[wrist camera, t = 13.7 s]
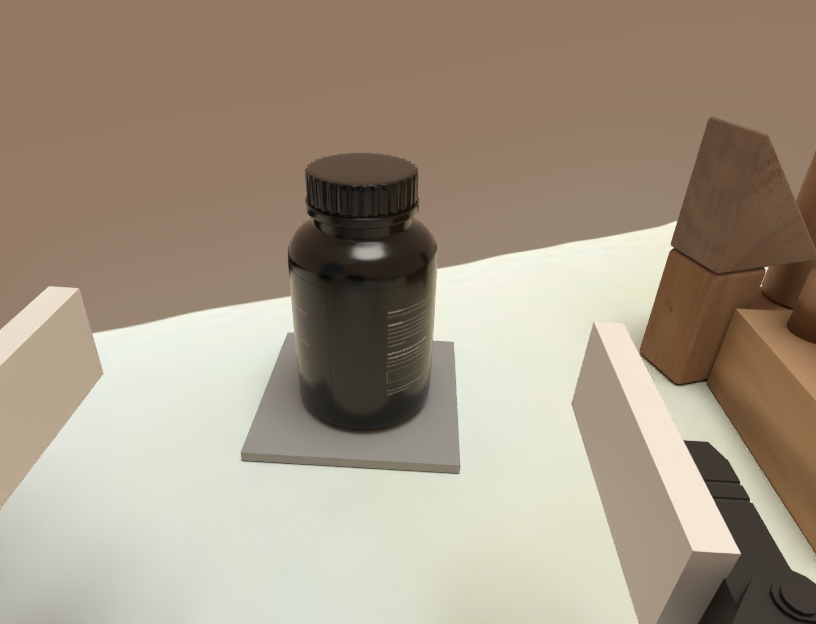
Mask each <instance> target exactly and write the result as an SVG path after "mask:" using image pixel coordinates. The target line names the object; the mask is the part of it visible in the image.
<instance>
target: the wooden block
mask: <svg viewBox="0 0 816 624" xmlns="http://www.w3.org/2000/svg"><path fill="white" fill-rule="evenodd" d="M671 246H672V247H674V248H673V249H672V250H671V251H670V252H669V255H668V259H667V262H666V265H665V268H664V272H663V275H662V278H661V282H660V285H659V288H658V292H657V295H656V298H655V301H654V305H653V308H652V311H651V315H650V318H649V321H648V324H647V328H646V331H645V334H644V338H643V341H642V344H641V348H640V351H641V353H642V355H643V356H645V357H646V358H647V359H648V360H649V361H650V362H651V363H653V364H654V365H655V366H656V367H657V368H658V369H659V370H661V371H662V372H663V373H664V374H665V375H666V376H667V377H668V378H670V379H671V380H672V381H673V382H674V383H677V384H684V383H689V382H694V381H699V380H704V379H708V378H709V376H710V373H711V370H712V368H713V365H714V363H715V360H716V358H717V355H718V353H719V350H720V347H721V345H722V342H723V340H724V337H725V335H726V332H727V329H728V327H729V324H730V322H731V319H732V317H733V314H734V311H735V309H754V310H772V311H790V312H792V311H793V309H794V307H795V305H796V302H797V300H798V298H799V296H800V294H801V291H802V289H803V287H804V285H805V282H806V280H807V278H808V276H809V274H810V271H811V270H812V269H815V268H816V152H815V155H814V157H813V160H812V162H811V165H810V167H809V169H808V172H807V174H806V177H805V180H804V182H803V184H802V186H801V189H800V192H799V194H798V196H797V199H796V201H795V198H794V196H793V194H792V191H791V189H790V186H789V184H788V182H787V179H786V177H785V174H784V172H783V170H782V167H781V165H780V162H779V160H778V158H777V155H776V153H775V150H774V148H773V146H772V143H771V141H770V138H769V136H768V135H767V134H765V133H762V132H759V131H756V130H753V129H749V128H746V127H743V126H740V125H737V124H734V123H731V122H727V121H724V120H721V119H718V118H715V117H710V118H709V120H708V122H707V126H706V129H705V132H704V136H703V139H702V142H701V145H700V149H699V152H698V155H697V159H696V162H695V165H694V169H693V172H692V175H691V179H690V182H689V185H688V188H687V192H686V195H685V198H684V202H683V205H682V208H681V211H680V215H679V218H678V221H677V225H676V228H675V231H674V234H673V238H672V241H671ZM768 266H769V268H768V270H767V272H766V275H765V268H764V267H768ZM764 276H765V277H764ZM763 278H764V280H763ZM762 281H763V282H762ZM761 283H762V287H760V286H761Z"/></svg>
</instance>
